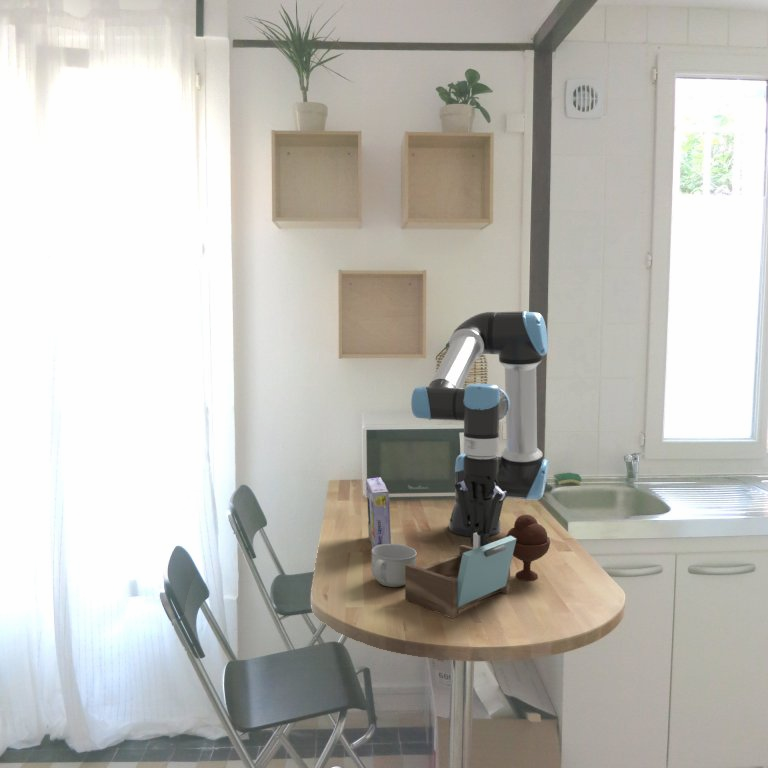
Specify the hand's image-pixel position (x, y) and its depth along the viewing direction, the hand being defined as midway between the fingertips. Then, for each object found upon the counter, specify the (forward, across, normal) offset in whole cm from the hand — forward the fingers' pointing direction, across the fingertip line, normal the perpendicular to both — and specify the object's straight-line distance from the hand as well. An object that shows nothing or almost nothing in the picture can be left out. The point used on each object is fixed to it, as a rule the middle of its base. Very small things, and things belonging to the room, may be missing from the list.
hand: (479, 561), depth 157 cm
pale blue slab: (+8, +1, 0) cm, 8 cm away
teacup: (+10, -22, -6) cm, 25 cm away
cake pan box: (+10, -44, +11) cm, 47 cm away
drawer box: (+10, -7, 0) cm, 12 cm away
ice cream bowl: (+10, -2, +21) cm, 23 cm away
